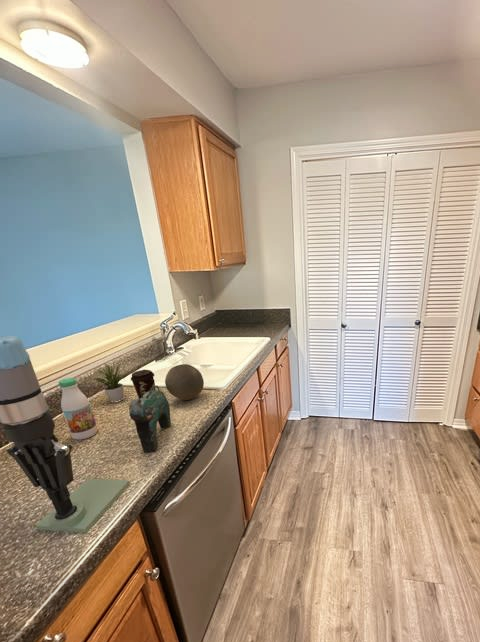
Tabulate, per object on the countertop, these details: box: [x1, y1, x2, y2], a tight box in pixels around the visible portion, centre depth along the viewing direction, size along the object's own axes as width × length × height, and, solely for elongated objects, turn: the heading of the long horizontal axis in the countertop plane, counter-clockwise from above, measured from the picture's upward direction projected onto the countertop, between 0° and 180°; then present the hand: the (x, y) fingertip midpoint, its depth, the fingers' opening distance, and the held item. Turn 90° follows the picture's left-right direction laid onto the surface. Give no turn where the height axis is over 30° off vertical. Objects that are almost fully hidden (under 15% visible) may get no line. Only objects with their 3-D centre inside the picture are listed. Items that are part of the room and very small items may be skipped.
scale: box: [35, 478, 131, 534], centre depth 77 cm, size 17×12×3 cm
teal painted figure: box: [128, 384, 172, 454], centre depth 102 cm, size 20×6×20 cm, turn 3°
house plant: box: [87, 360, 126, 402], centre depth 134 cm, size 14×14×16 cm
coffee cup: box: [130, 369, 156, 399], centre depth 130 cm, size 9×8×13 cm
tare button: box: [56, 506, 76, 520], centre depth 72 cm, size 4×4×2 cm
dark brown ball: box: [164, 363, 205, 401], centre depth 130 cm, size 14×14×15 cm
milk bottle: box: [58, 377, 99, 441], centre depth 106 cm, size 8×8×20 cm
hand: (65, 510), depth 72 cm, fingers closed
